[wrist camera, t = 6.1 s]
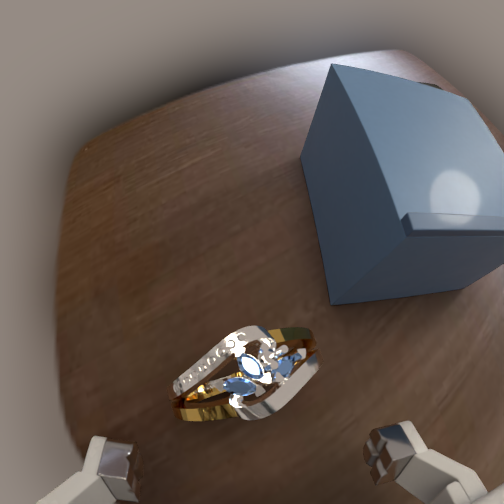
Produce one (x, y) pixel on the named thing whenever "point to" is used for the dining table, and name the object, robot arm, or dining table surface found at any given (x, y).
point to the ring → (247, 375)
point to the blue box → (401, 188)
